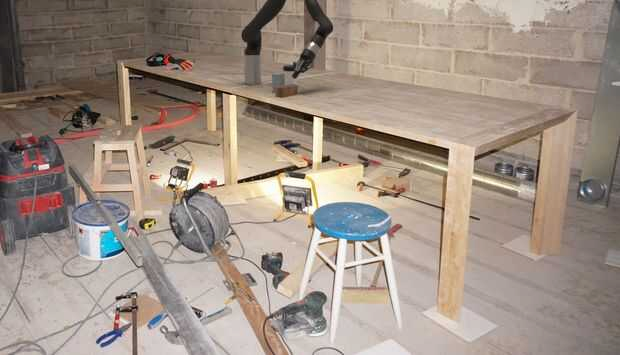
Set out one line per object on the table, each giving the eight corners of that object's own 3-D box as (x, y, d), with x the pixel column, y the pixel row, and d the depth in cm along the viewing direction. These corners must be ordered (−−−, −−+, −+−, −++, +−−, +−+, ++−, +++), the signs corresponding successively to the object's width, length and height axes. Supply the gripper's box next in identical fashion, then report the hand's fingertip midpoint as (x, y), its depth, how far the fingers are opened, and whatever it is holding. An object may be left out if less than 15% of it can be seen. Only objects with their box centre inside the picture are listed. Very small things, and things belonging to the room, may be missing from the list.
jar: (281, 88, 318) (281, 66, 314) (284, 85, 326) (283, 64, 322) (296, 88, 317) (296, 67, 313) (299, 85, 324) (299, 65, 320)
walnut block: (292, 93, 302) (275, 96, 295) (292, 84, 301) (275, 86, 293) (298, 94, 299) (281, 97, 291) (298, 85, 297) (281, 88, 290)
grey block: (272, 92, 306) (271, 73, 303) (277, 90, 310) (277, 72, 307) (279, 93, 303) (279, 74, 300) (284, 91, 307) (284, 73, 304)
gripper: (298, 46, 303) (281, 71, 299) (315, 48, 294) (298, 74, 290) (305, 56, 308) (289, 80, 304) (322, 58, 299) (305, 83, 295)
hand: (293, 77), depth 297 cm, fingers closed
